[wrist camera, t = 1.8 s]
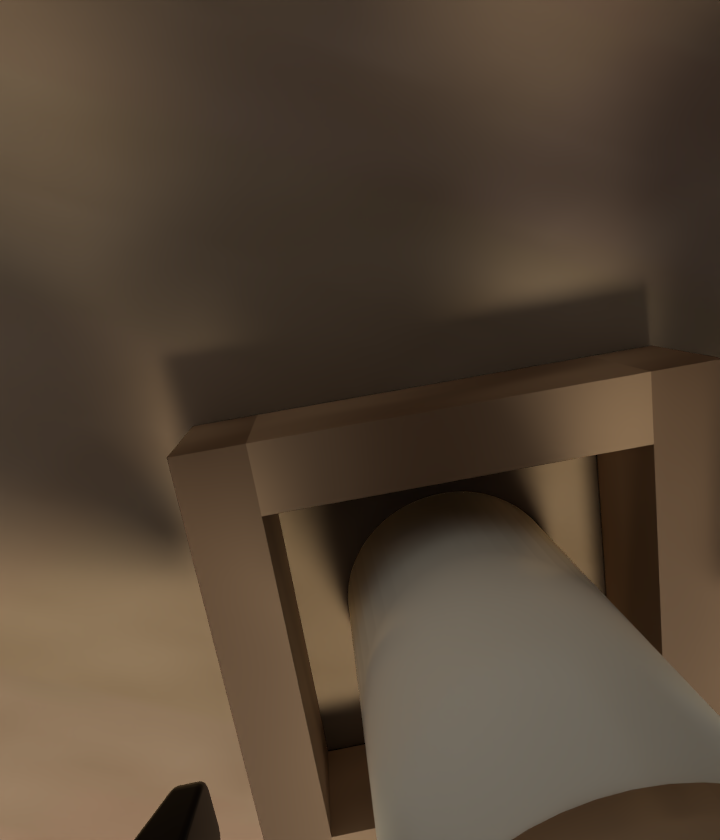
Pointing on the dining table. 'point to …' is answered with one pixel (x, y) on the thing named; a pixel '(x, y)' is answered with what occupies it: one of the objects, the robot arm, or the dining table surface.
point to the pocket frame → (428, 465)
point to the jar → (516, 690)
